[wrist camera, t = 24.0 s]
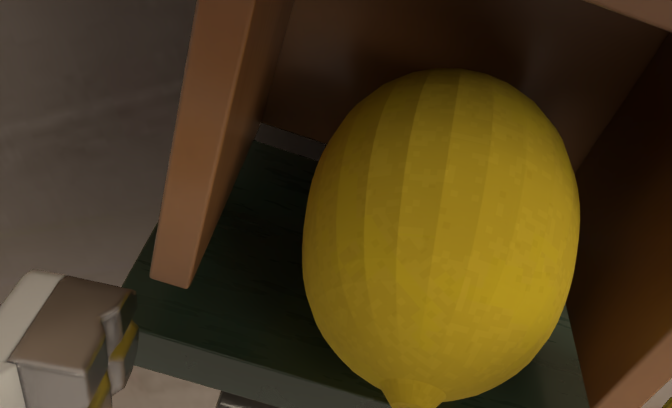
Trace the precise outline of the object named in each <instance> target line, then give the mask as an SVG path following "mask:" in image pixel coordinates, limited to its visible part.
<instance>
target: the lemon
mask: <svg viewBox="0 0 672 408" xmlns="http://www.w3.org/2000/svg"><path fill="white" fill-rule="evenodd" d="M579 230H580V202H579V193H578V187H577V182H576V178H575V174H574V171H573V168H572V165H571V162H570V159H569V157H568V154H567V151H566V148H565V145H564V142H563V140H562V138H561V136H560V134H559V133H558V131H557V129H556V128H555V126H554V125H553V124H552V123H551V121H550V120H549V119H548V118H547V117H546V115H545V114H544V113H543V112H542V111H541V109H540V108H539V107H538V106H537V105H536V103H535V102H534V101H532V100H531V99H530V98H528V97H527V96H526V95H524V94H523V93H522V92H520V91H519V90H517V89H516V88H515V87H513V86H512V85H510V84H509V83H507V82H505V81H502V80H500V79H497V78H495V77H493V76H490V75H488V74H485V73H481V72H476V71H471V70H466V69H460V68H434V69H428V70H422V71H417V72H412V73H410V74H407V75H405V76H402V77H400V78H397V79H395V80H392V81H390V82H388V83H385V84H383V85H382V86H381V87H379V88H378V89H377V90H375V91H374V92H373V93H371V94H370V95H368V96H367V97H366V98H364V99H363V100H362V101H360V102H359V103H358V104H357V105H356V106H355V107H354V108H353V109H352V110H351V111H350V112H349V113H348V114H347V116H346V117H345V119H344V120H343V122H342V123H341V124H340V126H339V127H338V129H337V130H336V132H335V133H334V135H333V136H332V137H331V139H330V140H329V142H328V144H327V146H326V148H325V149H324V151H323V153H322V155H321V157H320V160H319V162H318V164H317V167H316V170H315V173H314V176H313V179H312V183H311V187H310V191H309V196H308V202H307V208H306V214H305V221H304V228H303V241H302V267H303V280H304V286H305V291H306V296H307V299H308V302H309V305H310V308H311V311H312V314H313V317H314V319H315V322H316V324H317V326H318V328H319V330H320V332H321V334H322V335H323V337H324V339H325V340H326V342H327V343H328V344H329V345H330V347H331V348H332V349H333V351H334V352H335V353H336V354H337V356H338V357H339V358H340V359H341V360H342V361H343V362H344V363H345V364H346V365H347V366H348V367H349V368H350V369H351V370H352V371H353V372H354V373H356V374H357V375H359V376H360V377H361V378H363V379H364V380H366V381H367V382H369V383H370V384H372V385H373V386H375V387H377V388H379V389H381V390H382V392H383V393H384V395H385V397H386V399H387V400H388V402H389V404H390V406H391V407H392V408H436V407H437V406H438V405H439V404H441V403H442V402H448V401H455V400H459V399H464V398H468V397H473V396H476V395H479V394H481V393H483V392H486V391H488V390H490V389H492V388H494V387H496V386H498V385H500V384H502V383H503V382H505V381H507V380H508V379H510V378H511V377H513V376H515V375H516V374H517V373H519V372H520V371H521V370H522V369H523V368H524V367H525V366H527V365H528V364H529V363H530V362H531V361H532V359H533V358H534V357H535V356H536V354H537V353H538V352H539V350H540V349H541V348H542V347H543V345H544V344H545V343H546V341H547V340H548V339H549V337H550V336H551V334H552V332H553V330H554V328H555V326H556V325H557V323H558V321H559V318H560V316H561V313H562V311H563V308H564V306H565V303H566V299H567V296H568V293H569V290H570V286H571V282H572V278H573V274H574V269H575V263H576V256H577V249H578V241H579Z"/></svg>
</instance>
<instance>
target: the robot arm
mask: <svg viewBox="0 0 672 408" xmlns="http://www.w3.org/2000/svg"><path fill="white" fill-rule="evenodd" d="M137 307H138V305H137V294H136V291H134V290H132V289H127V288H123V287H118V286H114V285H109V284H105V283H100V282H95V281H91V280H86V279H82V278H77V277H73V276H68V275H67V276H66V275H62V274H57V273H52V272H47V271H43V270H38V269H32V270H31V271H29V272H28V273H26V274H25V275H23V276H22V278H21V279H20V280H19V282H18V283H17V284H16V286H15V287H14V288H13V290H12V291H11V293H10V294H9V295H8V297H7V298H6V299H5V301H4V302H3V303H2V305H1V306H0V408H112V396H113V395H114V394H116V393H117V392H119V391H120V390H122V389H123V388H125V386H126V383H127V381H128V379H129V376H130V374H131V372H132V369H133V365H134V362H135V358H136V355H137V350H138V342H139V327H138V326H137V325H136V324H135V322H134V321H133V320H132V318H133V316H134V314H135V311H136V309H137ZM662 408H672V397H671V398H669V400H668V401H667V402H666V403H665V405H664V406H663V407H662Z"/></svg>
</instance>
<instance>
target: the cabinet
mask: <svg viewBox="0 0 672 408" xmlns="http://www.w3.org/2000/svg"><path fill="white" fill-rule="evenodd" d="M583 1H586V2H589V3H592V4H594V5H597V6H600V7H603V8H605V9H608V10H611V11H613V12H616V13H619V14H622V15H624V16H627V17H630V18H633V19H635V20H638V21H641V22H644V23H646V24H649V25H652V26H655V27H657V28H660V29H663V30H666V31H668V32H671V33H672V0H583Z"/></svg>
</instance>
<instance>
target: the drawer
mask: <svg viewBox="0 0 672 408" xmlns="http://www.w3.org/2000/svg"><path fill="white" fill-rule="evenodd" d="M434 68H460V69H466V70H471V71H476V72H481V73H485V74H488V75H490V76H493V77H495V78H497V79H500V80H502V81H505V82H507V83H509V84H510V85H512V86H513V87H515V88H516V89H517V90H519V91H520V92H522V93H523V94H524V95H526V96H527V97H528V98H530V99H531V100H532V101H534V102H535V103H536V105H537V106H538V107H539V108H540V109H541V111H542V112H543V113H544V114H545V115H546V117H547V118H548V119H549V120H550V121H551V123H552V124H553V125H554V126H555V128H556V129H557V131H558V133H559V134H560V136H561V138H562V140H563V142H564V145H565V148H566V151H567V154H568V157H569V159H570V162H571V165H572V168H573V171H574V174H575V178H576V182H577V187H578V193H579V202H580V230H579V241H578V249H577V256H576V263H575V269H574V274H573V278H572V282H571V286H570V290H569V293H568V296H567V299H566V303H565V306H564V308H563V311H562V313H561V316H560V318H559V321H558V323H557V325H556V326H555V328H554V330H553V332H552V334H551V336H550V337H549V339H548V340H547V341H546V343H545V344H544V345H543V347H542V348H541V349H540V350H539V352H538V353H537V354H536V356H535V357H534V358H533V359H532V361H531V362H530V363H529V364H528V365H527V366H525V367H524V368H523V369H522V370H521V371H520V372H519V373H517V374H516V375H515V376H513V377H511V378H510V379H508V380H507V381H505V382H503V383H502V384H500V385H498V386H496V387H494V388H492V389H490V390H488V391H486V392H483V393H481V394H479V395H476V396H473V397H468V398H464V399H459V400H455V401H448V402H442V403H441V404H439V405H438V406H437V407H436V408H640V407H642V406H643V405H644V404H645V403H646V402H647V401H648V400H649V399H650V398H651V397H652V396H653V395H654V394H655V393H656V392H657V391H658V390H660V389H661V388H662V387H663V386H664V385H665V384H666V383H667V382H668V381H669V380H670V379H671V378H672V33H671V32H668V31H666V30H663V29H660V28H657V27H655V26H652V25H649V24H646V23H644V22H641V21H638V20H635V19H633V18H630V17H627V16H624V15H622V14H619V13H616V12H613V11H611V10H608V9H605V8H603V7H600V6H597V5H594V4H592V3H589V2H586V1H583V0H197V1H196V7H195V13H194V18H193V24H192V30H191V36H190V42H189V47H188V53H187V59H186V65H185V71H184V76H183V82H182V88H181V94H180V100H179V105H178V111H177V117H176V123H175V129H174V134H173V140H172V146H171V152H170V158H169V163H168V169H167V175H166V181H165V187H164V193H163V198H162V204H161V210H160V216H159V220H158V222H157V224H156V226H155V227H154V229H153V231H152V233H151V235H150V236H149V238H148V240H147V242H146V244H145V245H144V247H143V249H142V251H141V253H140V254H139V256H138V258H137V260H136V262H135V263H134V265H133V267H132V269H131V270H130V272H129V274H128V276H127V278H126V279H125V281H124V283H123V285H122V287H123V288H127V289H132V290H134V291H136V294H137V305H138V307H137V309H136V311H135V314H134V316H133V318H132V320H133V321H134V322H135V324H136V325H137V326H138V327H139V342H138V350H137V355H136V358H135V362H134V365H135V366H139V367H142V368H146V369H149V370H152V371H156V372H159V373H163V374H166V375H170V376H173V377H176V378H180V379H183V380H187V381H190V382H194V383H197V384H200V385H204V386H207V387H211V388H214V389H218V390H221V393H220V396H219V399H218V402H217V405H216V408H392V407H391V406H390V404H389V402H388V400H387V399H386V397H385V395H384V393H383V392H382V390H381V389H379V388H377V387H375V386H373V385H372V384H370V383H369V382H367V381H366V380H364V379H363V378H361V377H360V376H359V375H357V374H356V373H354V372H353V371H352V370H351V369H350V368H349V367H348V366H347V365H346V364H345V363H344V362H343V361H342V360H341V359H340V358H339V357H338V356H337V354H336V353H335V352H334V351H333V349H332V348H331V347H330V345H329V344H328V343H327V342H326V340H325V339H324V337H323V335H322V334H321V332H320V330H319V328H318V326H317V324H316V322H315V319H314V317H313V314H312V311H311V308H310V305H309V302H308V299H307V296H306V291H305V286H304V280H303V267H302V241H303V228H304V221H305V214H306V208H307V202H308V196H309V191H310V187H311V183H312V179H313V176H314V173H315V170H316V167H317V164H318V162H319V161H316V160H313V159H310V158H307V157H304V156H301V155H298V154H294V153H291V152H288V151H285V150H282V149H279V148H276V147H273V146H270V145H267V144H264V143H261V142H258V141H255V140H254V138H255V136H256V134H257V131H258V129H259V127H260V124H261V123H264V124H267V125H270V126H273V127H276V128H279V129H282V130H285V131H289V132H292V133H295V134H298V135H301V136H304V137H307V138H310V139H313V140H316V141H319V142H322V143H325V144H328V142H329V140H330V139H331V137H332V136H333V135H334V133H335V132H336V130H337V129H338V127H339V126H340V124H341V123H342V122H343V120H344V119H345V117H346V116H347V114H348V113H349V112H350V111H351V110H352V109H353V108H354V107H355V106H356V105H357V104H358V103H359V102H360V101H362V100H363V99H364V98H366V97H367V96H368V95H370V94H371V93H373V92H374V91H375V90H377V89H378V88H379V87H381V86H382V85H383V84H385V83H388V82H390V81H392V80H395V79H397V78H400V77H402V76H405V75H407V74H410V73H412V72H417V71H422V70H428V69H434Z"/></svg>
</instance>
